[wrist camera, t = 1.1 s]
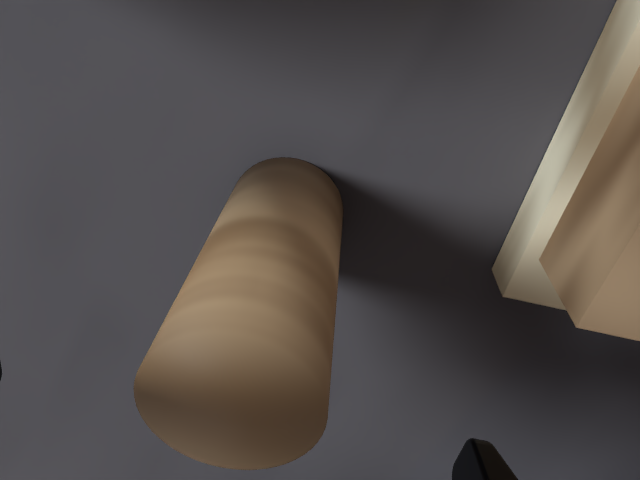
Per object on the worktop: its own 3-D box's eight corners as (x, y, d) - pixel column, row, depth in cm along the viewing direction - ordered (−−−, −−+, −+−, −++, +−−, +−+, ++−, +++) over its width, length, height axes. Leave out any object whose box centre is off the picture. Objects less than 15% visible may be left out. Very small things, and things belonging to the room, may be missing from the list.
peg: (329, 267, 17) (307, 484, 10) (225, 245, 17) (132, 450, 10) (355, 171, 15) (348, 357, 8) (238, 145, 15) (135, 313, 8)
